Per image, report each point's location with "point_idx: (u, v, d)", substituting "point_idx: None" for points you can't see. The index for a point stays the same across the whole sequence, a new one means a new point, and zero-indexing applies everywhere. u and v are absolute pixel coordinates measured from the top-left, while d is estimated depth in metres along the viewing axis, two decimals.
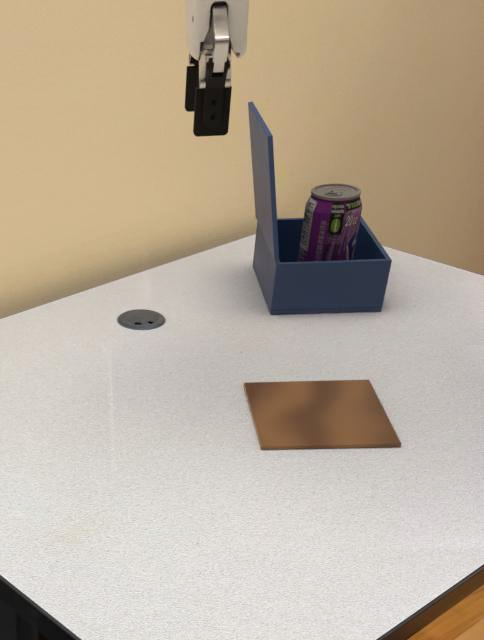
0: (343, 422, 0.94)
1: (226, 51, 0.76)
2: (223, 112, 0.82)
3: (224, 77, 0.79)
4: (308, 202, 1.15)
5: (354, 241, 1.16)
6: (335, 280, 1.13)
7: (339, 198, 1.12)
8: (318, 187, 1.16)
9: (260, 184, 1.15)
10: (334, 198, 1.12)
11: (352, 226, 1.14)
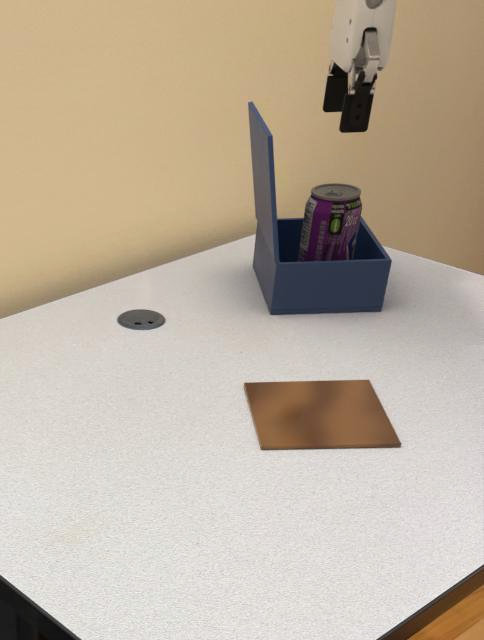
0: (343, 422, 0.94)
1: (376, 66, 0.98)
2: (365, 113, 1.04)
3: (371, 86, 1.00)
4: (308, 202, 1.15)
5: (354, 241, 1.16)
6: (335, 280, 1.13)
7: (339, 198, 1.12)
8: (318, 187, 1.16)
9: (260, 184, 1.15)
10: (334, 198, 1.12)
11: (352, 226, 1.14)
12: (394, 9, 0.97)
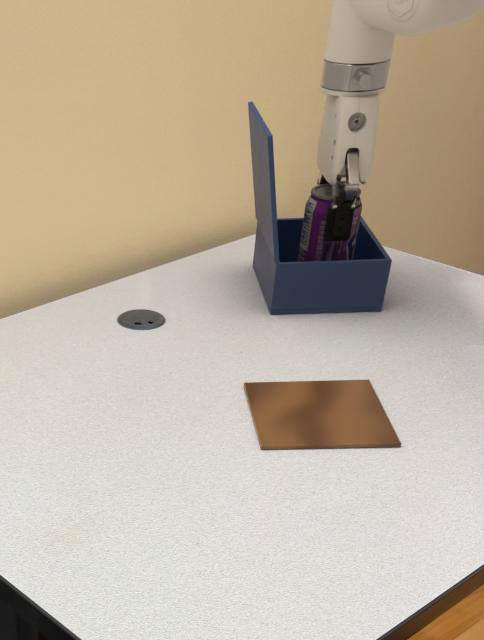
0: (343, 422, 0.94)
1: (356, 191, 1.07)
2: (347, 225, 1.13)
3: (351, 203, 1.09)
4: (308, 202, 1.15)
5: (354, 241, 1.16)
6: (335, 280, 1.13)
7: None
8: (318, 187, 1.16)
9: (260, 184, 1.15)
10: None
11: (352, 226, 1.14)
12: (374, 132, 1.05)
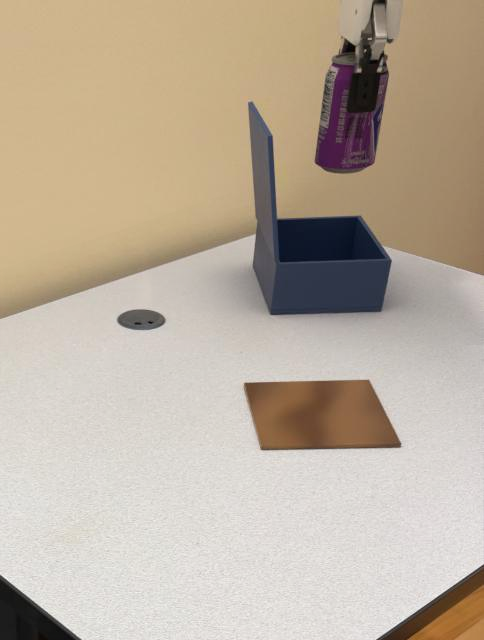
0: (343, 422, 0.94)
1: (383, 46, 0.96)
2: (372, 93, 1.01)
3: (378, 64, 0.98)
4: (328, 71, 1.04)
5: (380, 115, 1.05)
6: (335, 280, 1.13)
7: None
8: (339, 55, 1.05)
9: (260, 184, 1.15)
10: None
11: (378, 96, 1.03)
12: None
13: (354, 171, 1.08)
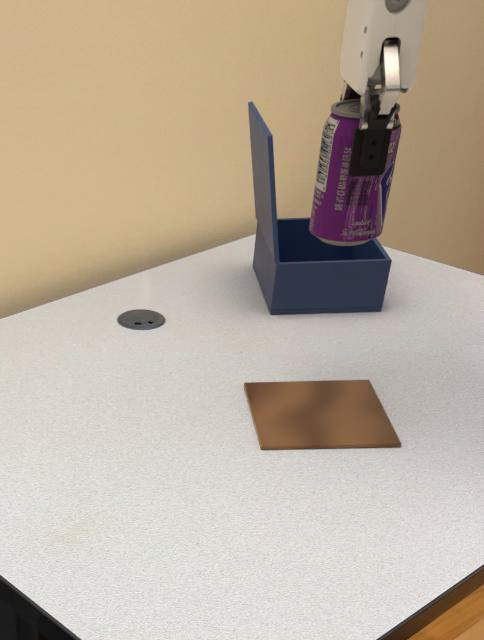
0: (343, 422, 0.94)
1: (395, 99, 0.76)
2: (381, 152, 0.82)
3: (388, 119, 0.78)
4: (327, 123, 0.84)
5: (390, 178, 0.85)
6: (335, 280, 1.13)
7: None
8: (341, 103, 0.85)
9: (260, 184, 1.15)
10: None
11: (387, 155, 0.83)
12: (423, 13, 0.74)
13: (357, 243, 0.88)
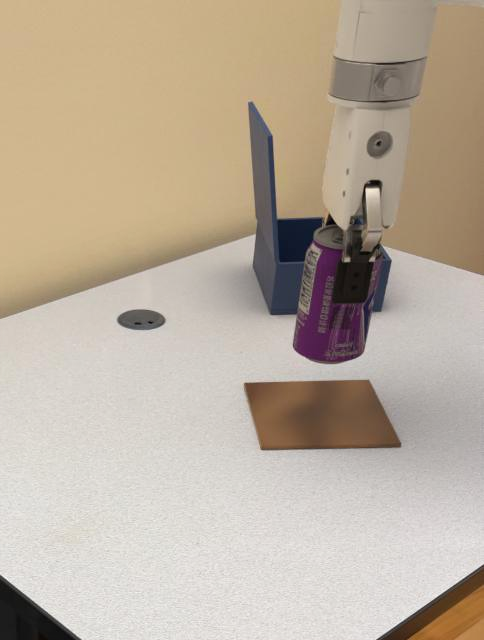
0: (343, 422, 0.94)
1: (377, 239, 0.77)
2: (363, 282, 0.83)
3: (370, 255, 0.79)
4: (310, 250, 0.85)
5: (372, 302, 0.86)
6: None
7: None
8: (323, 229, 0.86)
9: (260, 184, 1.15)
10: None
11: None
12: (404, 158, 0.75)
13: (340, 362, 0.90)
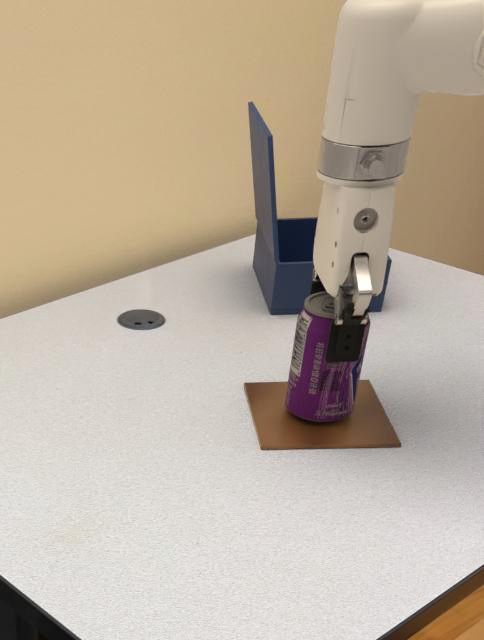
0: (343, 422, 0.94)
1: (368, 301, 0.80)
2: (356, 342, 0.86)
3: (362, 318, 0.82)
4: (301, 317, 0.89)
5: (360, 365, 0.90)
6: None
7: None
8: (313, 297, 0.90)
9: (260, 184, 1.15)
10: (334, 316, 0.86)
11: None
12: (389, 232, 0.79)
13: None
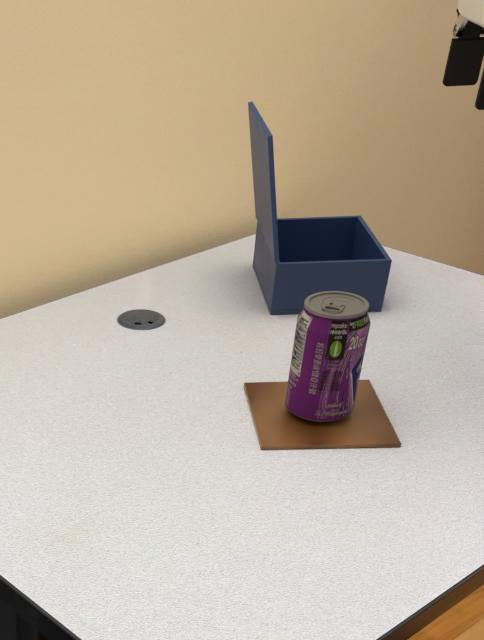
0: (343, 422, 0.94)
1: None
2: None
3: None
4: (300, 317, 0.89)
5: (360, 365, 0.90)
6: (335, 280, 1.13)
7: (340, 316, 0.86)
8: (313, 297, 0.90)
9: (260, 184, 1.15)
10: (334, 316, 0.86)
11: (357, 349, 0.88)
12: None
13: None
